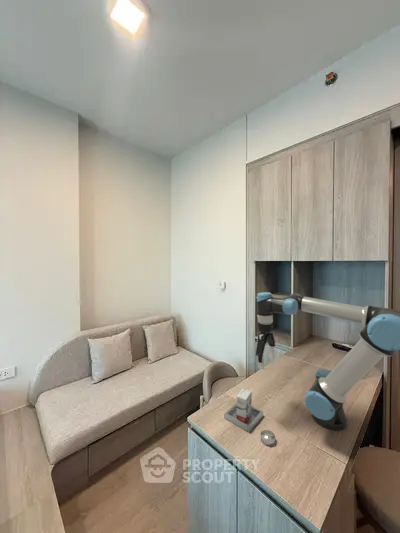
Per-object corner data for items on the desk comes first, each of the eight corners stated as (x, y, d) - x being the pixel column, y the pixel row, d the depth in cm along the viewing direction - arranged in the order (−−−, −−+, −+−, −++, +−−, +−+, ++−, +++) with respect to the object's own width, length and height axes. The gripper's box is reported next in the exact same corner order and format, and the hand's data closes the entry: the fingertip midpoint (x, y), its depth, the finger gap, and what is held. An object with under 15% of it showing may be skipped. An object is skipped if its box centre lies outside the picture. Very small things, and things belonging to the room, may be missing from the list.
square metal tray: (263, 416, 112) (263, 411, 112) (249, 432, 101) (249, 427, 101) (239, 404, 121) (239, 399, 121) (224, 418, 111) (224, 413, 111)
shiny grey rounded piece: (276, 438, 98) (276, 432, 98) (273, 448, 93) (273, 442, 93) (262, 433, 101) (262, 428, 101) (259, 443, 96) (259, 437, 96)
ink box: (245, 423, 106) (245, 399, 106) (236, 419, 109) (236, 396, 109) (251, 413, 114) (251, 390, 113) (242, 409, 116) (242, 387, 116)
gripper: (267, 316, 127) (268, 353, 128) (247, 327, 108) (249, 371, 108) (280, 318, 123) (281, 356, 123) (262, 330, 103) (264, 375, 104)
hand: (266, 363), depth 116 cm, fingers open, 13 cm apart
